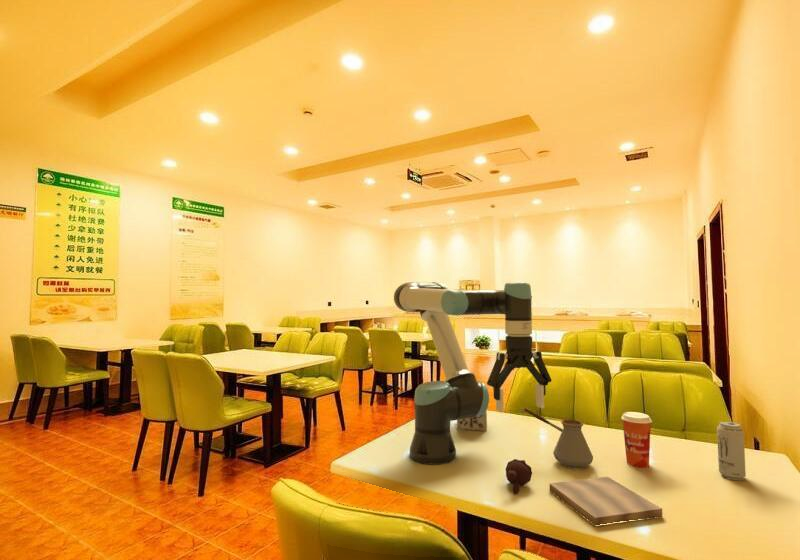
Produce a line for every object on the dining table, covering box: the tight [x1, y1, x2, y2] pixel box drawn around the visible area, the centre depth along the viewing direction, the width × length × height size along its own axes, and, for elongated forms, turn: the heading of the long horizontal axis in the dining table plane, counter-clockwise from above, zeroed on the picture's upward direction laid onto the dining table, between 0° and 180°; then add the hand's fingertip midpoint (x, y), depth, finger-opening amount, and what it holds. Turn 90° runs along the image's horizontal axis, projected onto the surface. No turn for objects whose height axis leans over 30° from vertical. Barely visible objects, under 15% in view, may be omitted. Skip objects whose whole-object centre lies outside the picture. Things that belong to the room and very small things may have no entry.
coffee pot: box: [521, 408, 594, 470], centre depth 131 cm, size 21×12×15 cm, turn 54°
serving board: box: [549, 476, 663, 526], centre depth 103 cm, size 18×18×2 cm
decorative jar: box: [456, 409, 488, 432], centre depth 167 cm, size 12×12×18 cm
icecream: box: [505, 458, 533, 495], centre depth 114 cm, size 7×7×15 cm
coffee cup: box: [621, 411, 653, 469], centre depth 128 cm, size 8×8×15 cm
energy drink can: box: [716, 420, 747, 481], centre depth 119 cm, size 6×6×15 cm
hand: (520, 409), depth 119 cm, fingers open, 13 cm apart
